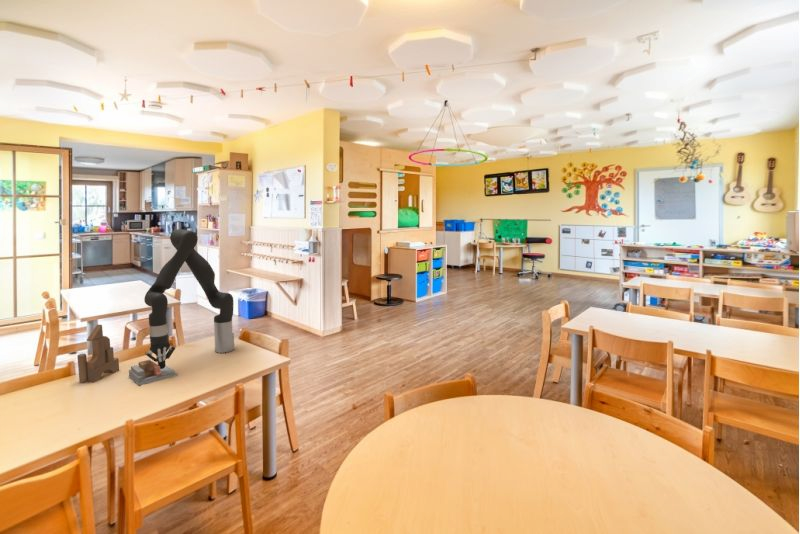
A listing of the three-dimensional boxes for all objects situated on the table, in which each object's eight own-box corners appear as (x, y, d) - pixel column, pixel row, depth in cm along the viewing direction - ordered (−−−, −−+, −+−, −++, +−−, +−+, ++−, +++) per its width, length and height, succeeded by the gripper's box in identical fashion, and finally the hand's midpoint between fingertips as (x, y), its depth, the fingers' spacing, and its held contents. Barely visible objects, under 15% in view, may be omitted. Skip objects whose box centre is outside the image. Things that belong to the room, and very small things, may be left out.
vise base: (166, 367, 197) (165, 356, 196) (177, 375, 188) (176, 364, 188) (128, 376, 185) (128, 365, 184) (139, 385, 176) (138, 373, 175)
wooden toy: (107, 369, 193) (103, 319, 189) (119, 370, 192) (116, 320, 188) (77, 382, 177) (73, 329, 174) (90, 384, 176) (86, 330, 173)
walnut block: (150, 372, 188) (149, 359, 187) (154, 375, 185) (153, 362, 184) (139, 375, 184) (138, 362, 183) (143, 378, 181) (142, 365, 180)
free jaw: (151, 368, 192) (151, 360, 191) (162, 376, 183) (161, 367, 183) (147, 369, 190) (146, 361, 190) (157, 377, 182) (156, 368, 181)
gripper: (145, 338, 179) (149, 374, 182) (177, 331, 189) (180, 366, 192) (140, 335, 184) (143, 370, 187) (170, 328, 194) (173, 362, 197)
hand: (162, 368), depth 189 cm, fingers closed
